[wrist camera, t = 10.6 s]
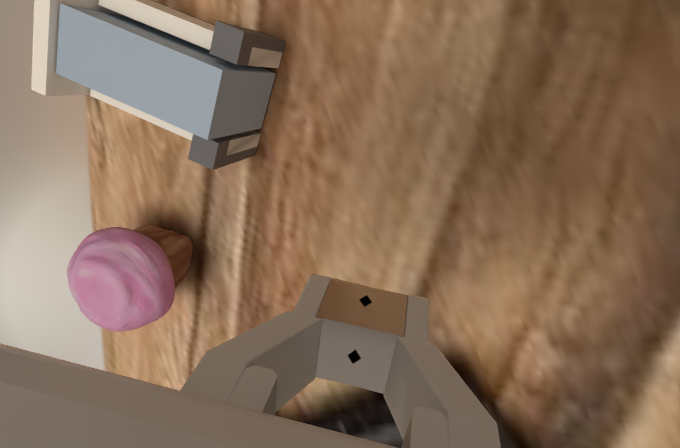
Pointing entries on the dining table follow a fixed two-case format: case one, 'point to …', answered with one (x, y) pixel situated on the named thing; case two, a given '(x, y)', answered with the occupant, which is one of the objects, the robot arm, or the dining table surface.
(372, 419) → the dining table surface
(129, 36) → the grey rectangular box
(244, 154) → the frame
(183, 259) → the cupcake
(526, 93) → the dining table surface
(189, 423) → the robot arm
